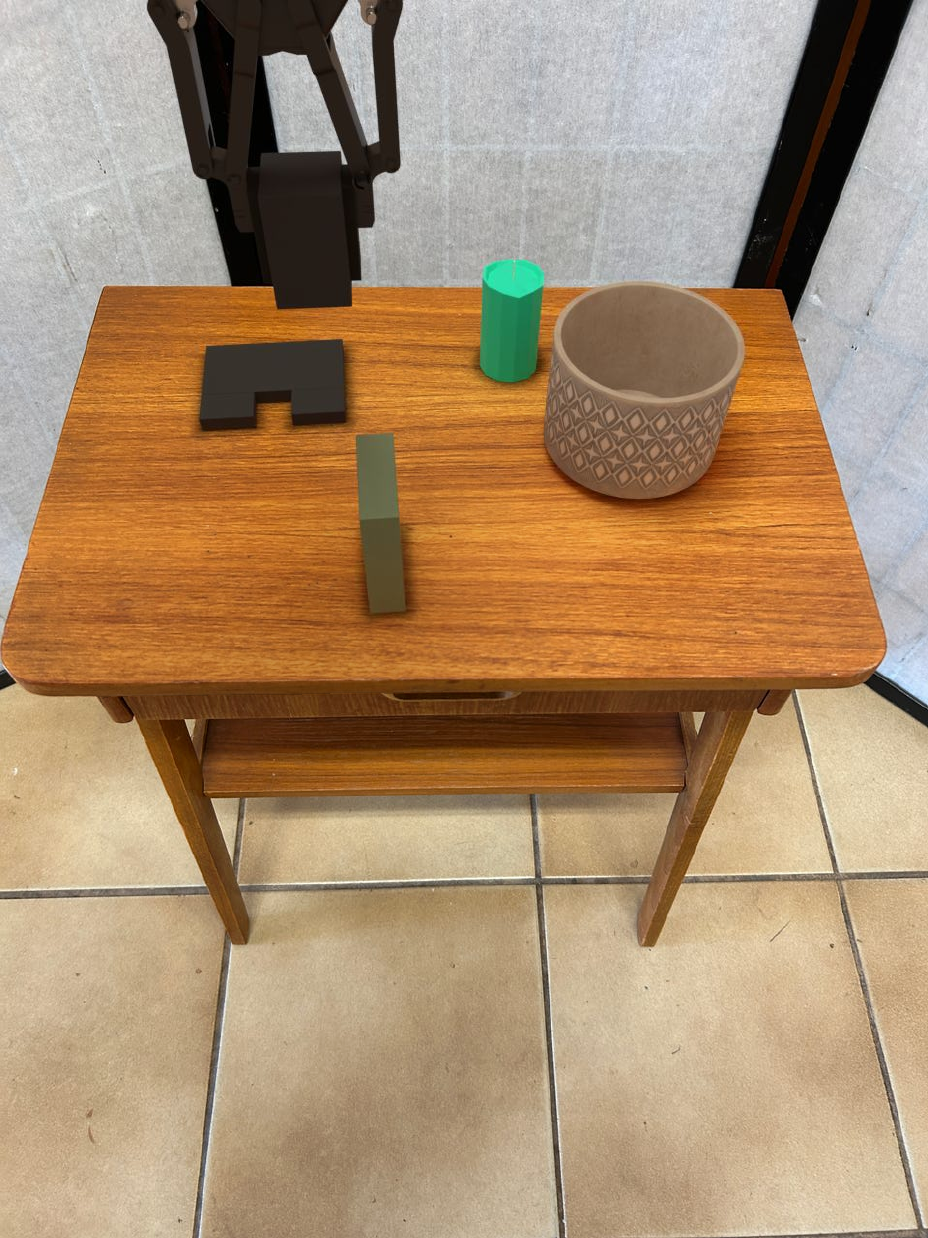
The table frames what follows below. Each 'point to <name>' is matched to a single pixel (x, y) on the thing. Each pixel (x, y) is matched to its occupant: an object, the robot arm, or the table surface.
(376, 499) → the stand
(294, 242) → the black rectangular block
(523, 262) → the candle
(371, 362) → the table surface
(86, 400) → the table surface
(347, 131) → the robot arm
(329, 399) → the pad
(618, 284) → the planter
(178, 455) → the table surface
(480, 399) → the table surface
